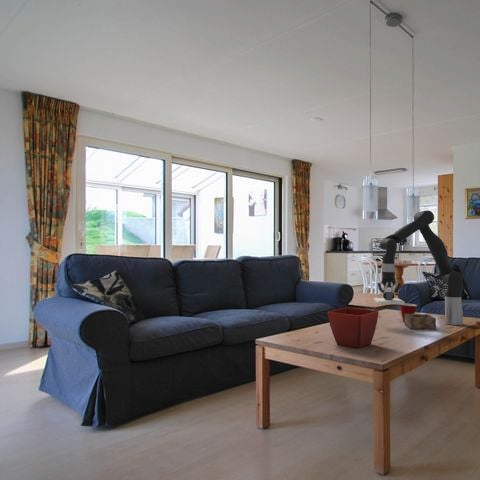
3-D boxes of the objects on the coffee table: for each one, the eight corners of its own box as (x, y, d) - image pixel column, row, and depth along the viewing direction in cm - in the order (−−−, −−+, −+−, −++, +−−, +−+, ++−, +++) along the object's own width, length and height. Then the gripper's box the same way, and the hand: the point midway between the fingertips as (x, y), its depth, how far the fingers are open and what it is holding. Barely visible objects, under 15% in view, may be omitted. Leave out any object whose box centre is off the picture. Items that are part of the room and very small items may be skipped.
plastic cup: (420, 323, 265) (419, 304, 265) (403, 323, 265) (402, 304, 265) (413, 320, 275) (413, 302, 276) (396, 320, 276) (396, 302, 276)
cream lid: (398, 301, 261) (398, 290, 261) (404, 305, 246) (404, 293, 246) (373, 301, 263) (373, 290, 263) (378, 304, 248) (378, 292, 248)
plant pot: (326, 344, 211) (326, 311, 211) (346, 338, 225) (346, 307, 225) (360, 351, 198) (360, 315, 198) (380, 344, 211) (379, 310, 211)
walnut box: (428, 325, 258) (428, 314, 258) (436, 330, 244) (435, 318, 244) (404, 325, 260) (404, 313, 260) (411, 329, 246) (411, 317, 246)
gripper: (398, 270, 258) (399, 298, 257) (375, 270, 259) (375, 298, 259) (402, 271, 250) (402, 300, 250) (377, 271, 252) (378, 299, 252)
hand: (388, 299), depth 255 cm, fingers closed on cream lid, 3 cm apart
